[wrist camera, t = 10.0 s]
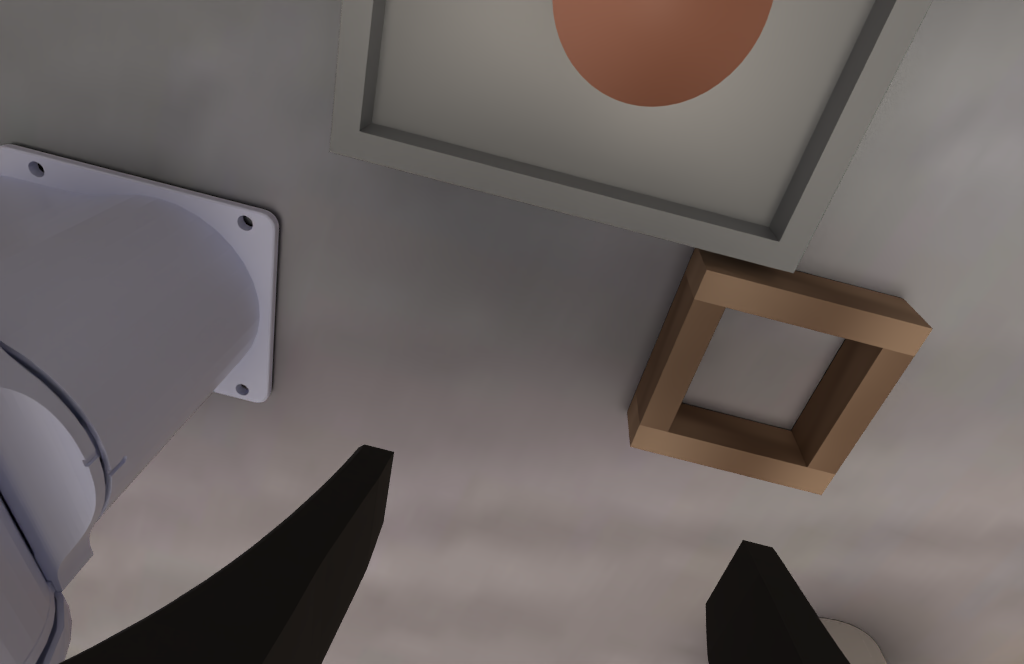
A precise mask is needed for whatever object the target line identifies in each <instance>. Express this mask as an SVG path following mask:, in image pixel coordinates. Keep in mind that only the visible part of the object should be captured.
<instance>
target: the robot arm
mask: <svg viewBox="0 0 1024 664" xmlns="http://www.w3.org/2000/svg"><path fill="white" fill-rule="evenodd" d="M37 163H39V164H40V165H41V166H42V167H43V169H44V172H42V171H41V170H40V169H39V167H38V164H37ZM243 216H247V217H249V218H250V219H251V221H252V223H253V226H249V225H247V224H246V223H245V222H244V220H243ZM278 238H279V224H278V220H277V219H276V217H275V216H274V215H273V214H272V213H271V212H269V211H267V210H265V209H261V208H257V207H253V206H249V205H245V204H242V203H238V202H234V201H230V200H226V199H222V198H218V197H215V196H211V195H207V194H203V193H199V192H195V191H191V190H187V189H184V188H180V187H176V186H172V185H168V184H164V183H160V182H156V181H153V180H149V179H145V178H141V177H137V176H133V175H129V174H126V173H122V172H118V171H114V170H110V169H106V168H102V167H98V166H95V165H91V164H87V163H83V162H79V161H75V160H71V159H67V158H64V157H60V156H56V155H52V154H48V153H44V152H40V151H37V150H33V149H29V148H25V147H21V146H17V145H13V144H4V145H1V146H0V664H322V662H323V659H324V657H325V655H326V653H327V651H328V649H329V647H330V645H331V643H332V641H333V639H334V637H335V635H336V632H337V630H338V628H339V626H340V624H341V622H342V620H343V618H344V616H345V614H346V612H347V610H348V608H349V605H350V603H351V601H352V599H353V597H354V595H355V593H356V591H357V589H358V587H359V584H360V582H361V580H362V578H363V576H364V574H365V572H366V570H367V567H368V564H369V561H370V559H371V556H372V553H373V550H374V548H375V545H376V542H377V539H378V536H379V533H380V530H381V528H382V525H383V521H384V515H385V508H386V502H387V495H388V488H389V482H390V475H391V469H392V462H393V455H394V452H392V451H388V450H384V449H380V448H376V447H372V446H368V445H363V446H361V447H359V448H358V449H357V450H356V451H355V452H354V454H353V455H352V456H351V457H350V458H349V459H348V460H347V461H346V462H345V463H344V465H343V466H342V467H341V468H340V469H339V470H338V471H337V472H336V473H335V474H334V475H333V476H332V477H331V478H330V479H329V480H328V481H327V482H326V483H325V484H324V485H323V486H322V487H321V488H320V489H319V490H318V491H316V492H315V493H314V494H313V495H312V496H311V497H310V498H309V499H308V500H307V501H306V502H304V503H303V504H302V505H301V506H300V507H299V508H298V509H297V510H296V511H295V512H293V513H292V514H291V515H290V516H289V517H288V518H287V519H285V520H284V521H283V522H282V523H281V524H279V525H278V526H277V527H276V528H274V529H273V530H272V531H271V532H270V533H268V534H267V535H266V536H265V537H263V538H262V539H261V540H260V541H259V542H257V543H256V544H255V545H254V546H252V547H251V548H250V549H248V550H247V551H246V552H244V553H243V554H242V555H240V556H239V557H238V558H236V559H235V560H234V561H232V562H231V563H229V564H228V565H227V566H225V567H224V568H222V569H221V570H220V571H218V572H217V573H215V574H214V575H212V576H211V577H210V578H208V579H207V580H205V581H204V582H202V583H201V584H199V585H197V586H196V587H194V588H193V589H191V590H190V591H188V592H187V593H185V594H183V595H182V596H180V597H179V598H177V599H176V600H174V601H173V602H171V603H169V604H168V605H166V606H164V607H163V608H161V609H159V610H158V611H156V612H154V613H153V614H151V615H149V616H148V617H146V618H144V619H142V620H140V621H139V622H137V623H135V624H133V625H131V626H130V627H128V628H126V629H124V630H122V631H120V632H119V633H117V634H115V635H113V636H111V637H109V638H108V639H106V640H104V641H102V642H100V643H99V644H97V645H95V646H93V647H91V648H89V649H87V650H85V651H83V652H81V653H79V654H77V655H75V656H73V657H71V658H69V659H67V660H65V657H66V654H67V650H68V647H69V644H70V640H71V628H72V620H71V614H70V609H69V605H68V604H67V602H66V600H65V598H64V596H63V594H62V593H61V592H62V591H63V590H64V589H65V587H66V586H67V585H68V584H69V583H70V581H71V580H72V579H73V578H74V577H75V576H76V574H77V573H78V572H79V571H80V570H81V569H82V567H83V566H84V565H85V564H86V563H87V561H88V560H89V559H90V558H91V557H92V556H93V551H92V549H91V546H90V540H89V537H90V531H91V529H92V528H93V526H94V524H95V523H96V522H97V521H98V520H99V519H100V517H101V516H102V515H103V514H104V513H105V512H106V511H107V510H108V508H109V507H110V506H111V505H112V504H113V503H114V502H115V501H116V500H117V498H118V497H119V496H120V495H121V494H122V493H123V492H124V491H125V489H126V488H127V487H128V486H129V485H130V484H131V483H132V482H133V480H134V479H135V478H136V477H137V476H138V475H139V474H140V473H141V472H142V470H143V469H144V468H145V467H146V466H147V465H148V464H149V463H150V461H151V460H152V459H153V458H154V457H155V456H156V455H157V454H158V452H159V451H160V450H161V449H162V448H163V447H164V446H165V445H166V444H167V442H168V441H169V440H170V439H171V438H172V437H173V436H174V435H175V433H176V432H177V431H178V430H179V429H180V428H181V427H182V426H183V424H184V423H185V422H186V421H187V420H188V419H189V418H190V417H191V416H192V414H193V413H194V412H195V411H196V410H197V409H198V408H199V407H200V405H201V404H202V403H203V402H204V401H205V400H206V399H207V398H208V396H209V395H210V394H211V393H212V392H216V393H220V394H224V395H228V396H232V397H236V398H240V399H244V400H248V401H252V402H257V403H261V402H264V401H265V400H266V399H267V398H268V397H269V396H270V394H271V389H272V367H273V346H274V324H275V303H276V281H277V260H278ZM241 384H243V385H245V386H246V387H247V388H248V389H245V388H243V387H242V386H241ZM706 634H707V653H708V661H709V664H850V662H849V661H848V660H847V658H846V657H845V655H844V654H843V652H842V651H841V650H840V648H839V647H838V645H837V644H836V642H835V641H834V639H833V638H832V636H831V635H830V633H829V632H828V631H827V629H826V628H825V626H824V625H823V623H822V622H821V620H820V619H819V617H818V616H817V614H816V613H815V611H814V609H813V608H812V606H811V605H810V603H809V602H808V600H807V599H806V597H805V596H804V594H803V593H802V591H801V590H800V588H799V587H798V585H797V583H796V582H795V580H794V579H793V577H792V576H791V574H790V573H789V571H788V570H787V568H786V567H785V565H784V563H783V562H782V560H781V559H780V557H779V556H778V555H777V553H776V552H775V550H774V549H773V548H772V547H768V546H764V545H760V544H756V543H752V542H749V541H745V540H743V541H742V543H741V544H740V546H739V548H738V550H737V551H736V553H735V555H734V556H733V558H732V560H731V562H730V563H729V565H728V567H727V568H726V570H725V572H724V573H723V575H722V577H721V579H720V580H719V582H718V584H717V585H716V587H715V589H714V591H713V592H712V594H711V596H710V597H709V599H708V601H707V603H706ZM64 660H65V661H64Z"/></svg>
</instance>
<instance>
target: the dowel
mask: <svg viewBox="0 0 1024 664" xmlns="http://www.w3.org/2000/svg"><path fill="white" fill-rule="evenodd" d="M552 2H553V14H554V20H555V25H556V29H557V32H558V36H559V39H560V42H561V44H562V46H563V48H564V51H565V53H566V55H567V56H568V58H569V60H570V61H571V63H572V65H573V66H574V67H575V69H576V70H577V71H578V72H579V74H580V75H581V76H582V77H583V78H584V79H585V80H586V81H587V82H588V83H589V84H591V85H592V86H593V87H594V88H596V89H597V90H599V91H600V92H601V93H603V94H605V95H607V96H609V97H611V98H613V99H615V100H618V101H621V102H624V103H626V104H631V105H636V106H646V107H658V106H668V105H673V104H678V103H681V102H684V101H687V100H690V99H693V98H695V97H697V96H699V95H701V94H703V93H705V92H707V91H709V90H710V89H712V88H713V87H715V86H716V85H718V84H719V83H720V82H722V81H723V80H724V79H725V78H726V77H728V76H729V75H730V74H731V73H732V72H733V71H734V70H735V69H736V68H737V67H738V66H739V65H740V64H741V63H742V62H743V60H744V59H745V58H746V56H747V55H748V54H749V52H750V51H751V50H752V48H753V46H754V45H755V43H756V41H757V40H758V38H759V36H760V34H761V32H762V30H763V28H764V26H765V24H766V21H767V19H768V16H769V13H770V10H771V7H772V3H773V0H552Z"/></svg>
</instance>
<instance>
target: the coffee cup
mask: <svg viewBox="0 0 1024 664" xmlns="http://www.w3.org/2000/svg"><path fill="white" fill-rule="evenodd" d="M819 619H820V620H821V622H822V623H823V625H824V626H825V628H826V629H827V631H828V632H829V633H830V635H831V636H832V638H833V639H834V641H835V642H836V644H837V645H838V647H839V648H840V650H841V651H842V652H843V654H844V655H845V657H846V658H847V660H848V661H849V662H850V664H887V662H886V660H885V658H884V657H883V655H882V653H881V651H880V649H879V647H878V645H877V644H876V642H875V641H874V640H873V639H872V638H871V637H870V636H869V635H868V634H866V633H865V632H863V631H862V630H860V629H858V628H856V627H854V626H852V625H849V624H847V623H844V622H840V621H837V620H832V619H826V618H819Z"/></svg>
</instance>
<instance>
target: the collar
mask: <svg viewBox="0 0 1024 664" xmlns="http://www.w3.org/2000/svg"><path fill="white" fill-rule="evenodd" d="M725 308H730V309H734V310H738V311H742V312H746V313H750V314H753V315H757V316H761V317H765V318H769V319H773V320H777V321H780V322H784V323H788V324H792V325H796V326H800V327H804V328H807V329H811V330H815V331H819V332H823V333H827V334H831V335H834V336H838V337H842V338H846V339H845V341H844V343H843V345H842V346H841V348H840V350H839V351H838V353H837V355H836V356H835V358H834V360H833V361H832V363H831V365H830V366H829V368H828V370H827V372H826V373H825V375H824V377H823V378H822V380H821V382H820V383H819V385H818V387H817V388H816V390H815V392H814V393H813V395H812V397H811V399H810V400H809V402H808V404H807V405H806V407H805V409H804V410H803V412H802V414H801V415H800V417H799V419H798V420H797V422H796V424H795V426H794V427H793V429H792V431H789V430H785V429H781V428H777V427H773V426H769V425H765V424H762V423H758V422H754V421H750V420H746V419H742V418H738V417H734V416H730V415H726V414H722V413H718V412H714V411H711V410H707V409H703V408H699V407H695V406H691V405H687V404H683V403H682V401H683V398H684V396H685V394H686V392H687V390H688V388H689V385H690V383H691V381H692V379H693V377H694V375H695V373H696V370H697V368H698V366H699V364H700V362H701V360H702V357H703V355H704V353H705V351H706V349H707V347H708V345H709V342H710V340H711V338H712V336H713V334H714V332H715V329H716V327H717V325H718V323H719V321H720V319H721V317H722V314H723V312H724V310H725ZM931 331H932V328H931V327H930V326H929V325H928V323H927V322H926V321H925V320H924V319H923V318H922V317H921V316H920V315H919V314H918V313H917V312H916V311H915V310H914V309H913V308H912V307H911V306H910V305H909V304H908V303H907V302H906V301H905V300H904V299H902V298H899V297H895V296H891V295H887V294H883V293H879V292H876V291H872V290H868V289H864V288H860V287H856V286H853V285H849V284H845V283H841V282H837V281H834V280H830V279H826V278H822V277H818V276H814V275H811V274H807V273H803V272H799V271H795V272H794V273H790V272H787V271H783V270H779V269H775V268H771V267H767V266H764V265H760V264H756V263H752V262H748V261H744V260H741V259H737V258H733V257H729V256H725V255H722V254H718V253H714V252H710V251H706V250H702V249H699V248H695V249H694V252H693V254H692V257H691V259H690V261H689V264H688V266H687V269H686V271H685V274H684V276H683V278H682V281H681V283H680V286H679V288H678V291H677V293H676V295H675V298H674V300H673V303H672V305H671V307H670V310H669V312H668V315H667V317H666V320H665V322H664V324H663V327H662V329H661V332H660V334H659V337H658V339H657V341H656V344H655V346H654V349H653V351H652V353H651V356H650V358H649V361H648V363H647V366H646V368H645V370H644V373H643V375H642V378H641V380H640V383H639V385H638V387H637V390H636V392H635V395H634V397H633V399H632V402H631V404H630V407H629V409H628V412H627V416H628V427H629V437H630V447H634V448H637V449H641V450H645V451H649V452H653V453H657V454H661V455H665V456H669V457H673V458H677V459H681V460H685V461H689V462H693V463H697V464H701V465H705V466H709V467H713V468H717V469H721V470H725V471H729V472H733V473H737V474H741V475H745V476H748V477H752V478H756V479H760V480H764V481H768V482H772V483H776V484H780V485H784V486H788V487H792V488H796V489H800V490H804V491H808V492H812V493H816V494H820V495H822V493H823V492H824V490H825V489H826V487H827V486H828V484H829V483H830V481H831V480H832V478H833V477H834V475H835V474H836V472H837V471H838V469H839V468H840V466H841V465H842V463H843V462H844V460H845V459H846V458H847V456H848V455H849V453H850V452H851V450H852V449H853V447H854V446H855V444H856V443H857V441H858V440H859V438H860V437H861V435H862V434H863V432H864V431H865V429H866V428H867V426H868V425H869V423H870V422H871V420H872V419H873V417H874V416H875V414H876V413H877V411H878V410H879V408H880V407H881V405H882V404H883V402H884V401H885V399H886V398H887V396H888V395H889V393H890V392H891V390H892V389H893V387H894V386H895V384H896V383H897V381H898V380H899V378H900V377H901V375H902V374H903V372H904V371H905V369H906V368H907V366H908V365H909V363H910V362H911V360H912V359H913V357H914V356H915V354H916V353H917V351H918V350H919V348H920V347H921V345H922V344H923V342H924V341H925V339H926V338H927V337H928V335H929V334H930V332H931Z"/></svg>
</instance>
